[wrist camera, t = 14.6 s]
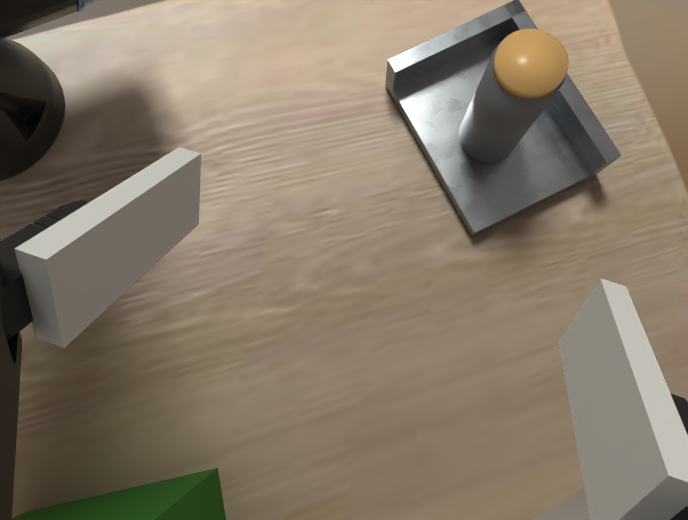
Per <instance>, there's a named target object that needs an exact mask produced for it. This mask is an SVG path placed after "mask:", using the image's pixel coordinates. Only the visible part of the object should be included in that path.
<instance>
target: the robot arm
mask: <svg viewBox="0 0 688 520" xmlns="http://www.w3.org/2000/svg"><path fill="white" fill-rule="evenodd" d="M96 1H98V0H0V180H2V179H6V178H9V177H12V176H14V175H16V174H18V173H20V172H22V171H24V170H25V169H27V168H28V167H30V166H31V165H33V164H34V163H35V162H36V161H37V160H39V159H40V158H41V157H42V156H43V155H44V153H45V152H46V151H47V150H48V149H49V147H50V146H51V144H52V143H53V141H54V140H55V138H56V136H57V134H58V132H59V129H60V126H61V123H62V119H63V114H64V97H63V92H62V88H61V85H60V83H59V81H58V79H57V77H56V75H55V74H54V72H53V71H52V70H51V69H50V68H49V67H48V66H47V65H46V64H45V63H44V62H43V61H42V60H41V59H40V58H39V57H37V56H36V55H35V54H34V53H33V52H32V51H30V50H29V49H27V48H26V47H24V46H22V45H21V44H19V43H17V42H14V41H11V40H8V39H6V38H5V37H8V36H11V35H14V34H16V33H19V32H22V31H25V30H28V29H30V28H33V27H36V26H39V25H41V24H44V23H47V22H50V21H52V20H55V19H58V18H61V17H63V16H66V15H69V14H72V13H74V12H80V11H82V10H83V9H84V8H85V7H86V6H88V5H90V4H92V3H94V2H96ZM200 167H201V153H198V152H194V151H191V150H188V149H185V148H182V147H178V148H177V149H175V150H174V151H172V152H170V153H169V154H167V155H165V156H164V157H162V158H161V159H159V160H157V161H156V162H154V163H152V164H151V165H149V166H148V167H146V168H144V169H143V170H141V171H140V172H138V173H136V174H135V175H133V176H131V177H130V178H128V179H127V180H125V181H123V182H122V183H120V184H118V185H117V186H115V187H114V188H112V189H110V190H109V191H107V192H105V193H104V194H102V195H101V196H99V197H97V198H96V199H94V200H93V201H91V202H86V201H83V200H81V201H77V202H74V203H70V204H67V205H63V206H61V207H59V208H57V209H56V210H54V211H52V212H50V213H49V214H47V216H46V217H42V218H40V219H39V220H37V221H35V222H34V224H30V225H28V226H27V227H25V228H23V229H21V230H20V231H18V232H16V233H15V234H13V235H11V236H9V237H8V238H6V239H4V240H3V241H1V242H0V520H11V519H12V503H13V486H14V469H15V452H16V436H17V419H18V402H19V386H20V369H21V352H22V338H21V335H20V331H21V330H22V329H23V328H24V327H26V326H27V325H28V324H29V323H31V322H33V327H34V331H35V335H36V338H37V339H39V340H42V341H45V342H48V343H50V344H53V345H56V346H59V347H61V348H65V347H66V346H67V345H68V344H69V343H70V342H72V341H73V340H74V339H75V338H76V337H77V336H78V335H79V334H80V333H81V332H82V331H83V330H85V329H86V328H87V327H88V326H89V325H90V324H91V323H92V322H93V321H94V320H95V319H96V318H98V317H99V316H100V315H101V314H102V313H103V312H104V311H105V310H106V309H107V308H108V307H109V306H111V305H112V304H113V303H114V302H115V301H116V300H117V299H118V298H119V297H120V296H121V295H122V294H124V293H125V292H126V291H127V290H128V289H129V288H130V287H131V286H132V285H133V284H134V283H135V282H137V281H138V280H139V279H140V278H141V277H142V276H143V275H144V274H145V273H146V272H147V271H148V270H149V269H151V268H152V267H153V266H154V265H155V264H156V263H157V262H158V261H159V260H160V259H161V258H162V257H164V256H165V255H166V254H167V253H168V252H169V251H170V250H171V249H172V248H173V247H174V246H175V245H177V244H178V243H179V242H180V241H181V240H182V239H183V238H184V237H185V236H186V235H187V234H188V233H190V232H191V231H192V230H193V229H194V228H195V227H196V226H197V225H198V224H199V199H200ZM558 343H559V349H560V354H561V360H562V365H563V371H564V377H565V382H566V388H567V393H568V399H569V405H570V410H571V416H572V421H573V427H574V432H575V438H576V444H577V449H578V455H579V460H580V466H581V471H582V477H583V483H584V488H585V494H586V499H587V505H588V510H589V516H590V520H688V402H687V401H686V400H685V398H682V397H679V396H676V395H673V394H670V391H669V389H668V387H667V384H666V382H665V379H664V377H663V375H662V372H661V370H660V367H659V365H658V363H657V360H656V358H655V355H654V353H653V350H652V348H651V346H650V343H649V341H648V338H647V336H646V334H645V331H644V329H643V326H642V324H641V321H640V319H639V317H638V314H637V312H636V309H635V307H634V305H633V302H632V300H631V297H630V295H629V293H628V290H627V288H626V286H623V285H620V284H617V283H613V282H610V281H607V280H604V279H600V280H599V282H598V283H597V285H596V286H595V288H594V289H593V291H592V292H591V294H590V295H589V297H588V298H587V300H586V301H585V303H584V304H583V306H582V307H581V309H580V310H579V312H578V313H577V315H576V316H575V318H574V319H573V321H572V322H571V324H570V325H569V327H568V328H567V330H566V331H565V333H564V334H563V336H562V337H561V339H560V340H559V342H558Z"/></svg>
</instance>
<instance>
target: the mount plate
mask: <svg viewBox="0 0 688 520" xmlns="http://www.w3.org/2000/svg"><path fill="white" fill-rule="evenodd" d="M522 29H538V28H537V27H536V25H535V24H534V22H533V21H532V19H531V18H530V16H529V15H528V13H527V12H526V10H525V9H524V7H523V6H522V4H521V3H520V1H519V0H514V1H512V2H510V3H508V4H505V5H503V6H501V7H499V8H497V9H495V10H493V11H491V12H488V13H486V14H484V15H482V16H480V17H478V18H476V19H473V20H471V21H469V22H467V23H465V24H463V25H461V26H459V27H456V28H454V29H452V30H450V31H448V32H446V33H444V34H441V35H439V36H437V37H435V38H433V39H431V40H429V41H427V42H424V43H422V44H420V45H418V46H416V47H414V48H412V49H410V50H407V51H405V52H403V53H401V54H399V55H397V56H395V57H392V58H390V59H388V63H387V73H386V84H385V86H386V88H387V90H388V92H389V93H390V95H391V97H392V99H393V100H394V102H395V104H396V106H397V108H398V109H399V111H400V113H401V115H402V116H403V118H404V120H405V122H406V123H407V125H408V127H409V129H410V130H411V132H412V134H413V136H414V137H415V139H416V141H417V143H418V144H419V146H420V148H421V150H422V152H423V153H424V155H425V157H426V159H427V160H428V162H429V164H430V166H431V167H432V169H433V171H434V173H435V174H436V176H437V178H438V180H439V181H440V183H441V185H442V187H443V188H444V190H445V192H446V194H447V195H448V197H449V199H450V201H451V203H452V204H453V206H454V208H455V210H456V211H457V213H458V215H459V217H460V218H461V220H462V222H463V224H464V225H465V227H466V229H467V231H468V232H469V234H470V236H471V237H472V236H474V235H476V234H478V233H480V232H482V231H484V230H486V229H488V228H490V227H492V226H494V225H496V224H498V223H500V222H502V221H504V220H506V219H508V218H510V217H512V216H514V215H516V214H518V213H520V212H522V211H524V210H526V209H528V208H530V207H532V206H534V205H536V204H538V203H540V202H542V201H544V200H546V199H548V198H550V197H552V196H554V195H556V194H558V193H560V192H562V191H564V190H566V189H568V188H570V187H572V186H574V185H576V184H578V183H580V182H582V181H584V180H586V179H588V178H590V177H592V176H594V175H596V174H598V173H599V172H600V171H602V170H603V169H604V168H606V167H607V166H608V165H610V164H611V163H612V162H614V161H615V160H616V159H618V158H619V157H620V156H621V154H620V153H619V151H618V150H617V148H616V147H615V145H614V144H613V142H612V140H611V139H610V137H609V136H608V134H607V133H606V131H605V130H604V128H603V127H602V125H601V124H600V122H599V121H598V119H597V118H596V116H595V115H594V113H593V112H592V110H591V109H590V107H589V106H588V104H587V103H586V101H585V100H584V98H583V97H582V95H581V94H580V92H579V91H578V89H577V88H576V86H575V84H574V83H573V81H572V80H571V78H570V77H569V75H568V74H567V73H566V77H565V80H564V83H563V84H562V86H561V87H560V89H559V90H558V91H557V93H556V94H555V95H554V97H553V98H552V99H551V101H550V102H549V103H548V105H547V106H546V107H545V109H544V110H543V111H542V113H541V114H540V115H539V117H538V118H537V119H536V120H535V122H534V123H533V124H532V126H531V127H530V128H529V130H528V131H527V132H526V134H525V135H524V136H523V138H522V139H521V140H520V142H519V143H518V144H517V145H516V147H515V148H514V149H513V151H512V152H511V153H510V154H509V155H508V156H507V157H505V158H504V159H502V160H499V161H495V162H483V161H479V160H477V159H475V158H473V157H471V156H470V155H469V154H467V152H466V151H465V150H464V149H463V147H462V145H461V143H460V139H459V129H460V126H461V123H462V121H463V119H464V117H465V114H466V112H467V110H468V107H469V105H470V103H471V101H472V98H473V96H474V94H475V92H476V89H477V87H478V85H479V83H480V80H481V78H482V76H483V74H484V71H485V69H486V67H487V65H488V62H489V60H490V58H491V56H492V53H493V51H494V50H495V48H496V47H497V46H498V45H499V44H500V43H501V42H502V41H503V40H504V39H505V38H506V37H507V36H508V35H510V34H511V33H513V32H515V31H518V30H522Z"/></svg>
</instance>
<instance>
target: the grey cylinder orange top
mask: <svg viewBox="0 0 688 520" xmlns="http://www.w3.org/2000/svg"><path fill="white" fill-rule="evenodd" d="M568 63H569V61H568V55H567V52H566V50H565V48H564V46H563V45H562V43H561V42H560V41H559V40H558V39H557V38H556V37H554V36H553V35H551V34H550V33H548V32H545V31H542V30H539V29H522V30H518V31H515V32H513V33H511V34H510V35H508V36H507V37H506V38H505V39H504V40H503V41H502V42H501V43H500V44H499V45H498V46H497V47H496V48H495V50H494V51H493V53H492V56H491V58H490V60H489V62H488V65H487V67H486V69H485V71H484V74H483V76H482V78H481V80H480V83H479V85H478V87H477V89H476V92H475V94H474V96H473V98H472V101H471V103H470V105H469V107H468V110H467V112H466V114H465V117H464V119H463V121H462V123H461V126H460V129H459V139H460V143H461V145H462V147H463V149H464V150H465V151H466V152H467V154H469V155H470V156H471V157H473V158H475V159H477V160H479V161H483V162H495V161H499V160H502V159H504V158H505V157H507V156H508V155H509V154H510V153H511V152H512V151H513V149H514V148H515V147H516V145H517V144H518V143H519V142H520V140H521V139H522V138H523V136H524V135H525V134H526V132H527V131H528V130H529V128H530V127H531V126H532V124H533V123H534V122H535V120H536V119H537V118H538V117H539V115H540V114H541V113H542V111H543V110H544V109H545V107H546V106H547V105H548V103H549V102H550V101H551V99H552V98H553V97H554V95H555V94H556V93H557V91H558V90H559V89H560V87H561V86H562V84H563V83H564V80H565V77H566V73H567V70H568Z"/></svg>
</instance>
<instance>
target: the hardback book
mask: <svg viewBox="0 0 688 520" xmlns="http://www.w3.org/2000/svg"><path fill="white" fill-rule="evenodd" d="M11 520H226V517H225V511H224V505H223V499H222V493H221V486H220V480H219V474H218V468H216V469H212V470H207V471H203V472H199V473H194V474H190V475H186V476H181V477H177V478H173V479H168V480H164V481H160V482H155V483H151V484H147V485H143V486H138V487H134V488H130V489H125V490H121V491H117V492H112V493H108V494H104V495H99V496H95V497H91V498H86V499H82V500H78V501H73V502H69V503H65V504H60V505H56V506H52V507H48V508H43V509H39V510H35V511H30V512H26V513H23V514H21V515H19V516H17V517H15V518H13V519H11Z"/></svg>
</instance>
